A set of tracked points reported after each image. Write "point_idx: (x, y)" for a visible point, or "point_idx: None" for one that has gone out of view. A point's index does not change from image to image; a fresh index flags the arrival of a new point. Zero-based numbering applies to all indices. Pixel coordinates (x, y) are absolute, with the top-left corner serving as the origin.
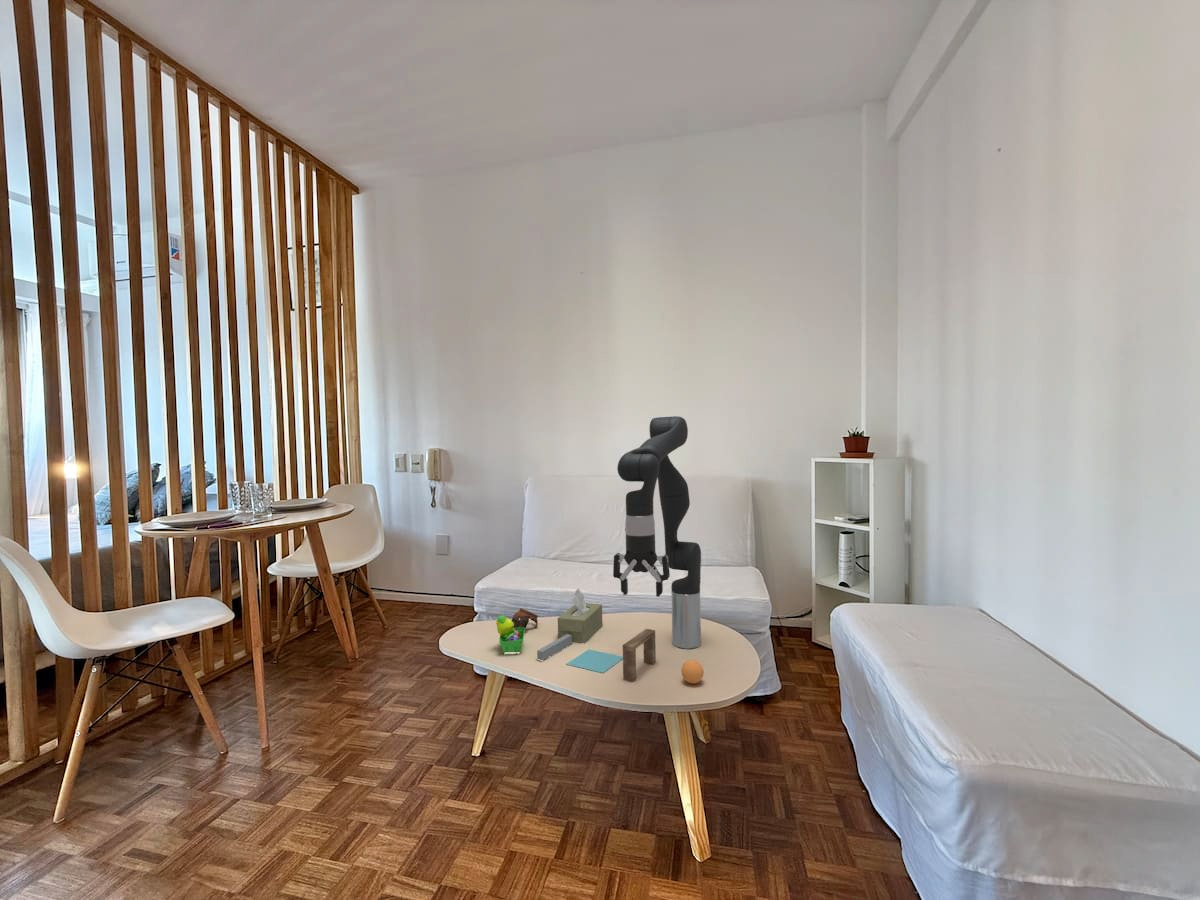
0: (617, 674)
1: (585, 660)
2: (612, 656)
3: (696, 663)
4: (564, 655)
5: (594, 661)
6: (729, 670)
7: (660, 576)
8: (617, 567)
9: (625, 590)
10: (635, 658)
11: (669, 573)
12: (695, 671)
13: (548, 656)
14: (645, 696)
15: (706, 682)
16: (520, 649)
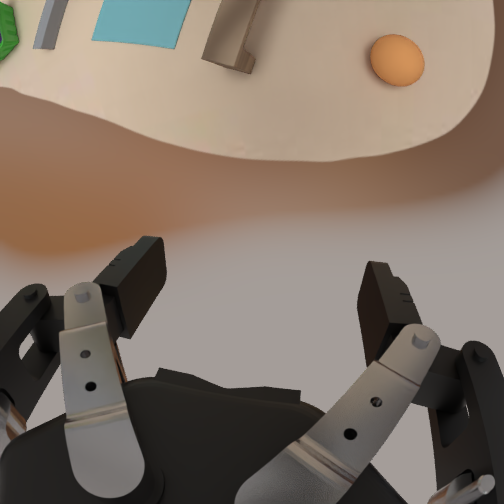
0: None
1: (123, 8)
2: None
3: (415, 67)
4: (81, 4)
5: (142, 4)
6: (459, 10)
7: (411, 402)
8: (36, 397)
9: (154, 297)
10: (247, 53)
11: (498, 369)
12: (408, 83)
13: (56, 30)
14: (290, 137)
15: None
16: (13, 42)
